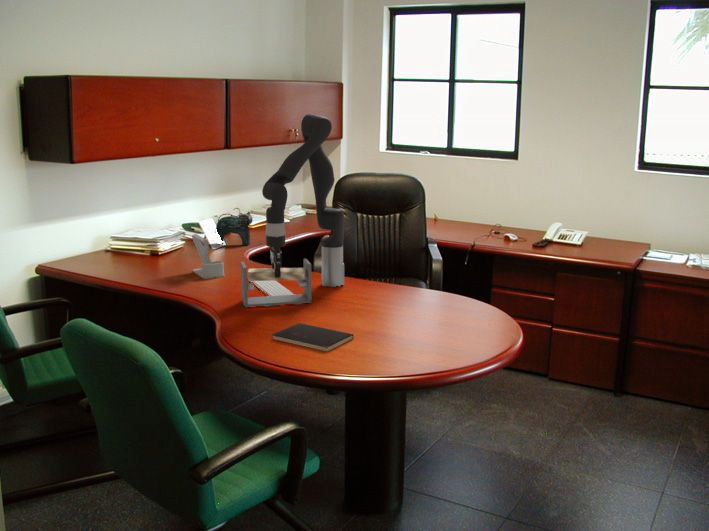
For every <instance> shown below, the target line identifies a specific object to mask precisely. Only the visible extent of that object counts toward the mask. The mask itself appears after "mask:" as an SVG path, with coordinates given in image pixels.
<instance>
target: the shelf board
mask: <svg viewBox="0 0 709 531" xmlns="http://www.w3.org/2000/svg"><path fill="white" fill-rule="evenodd" d="M280 269H281V277H279V278H276V277H275V268H272V267H270V268H267V267H266V268H265V267H264V268H263V267H260V268H259V267H258V268H248V269H247V279H248V280H247V282H248V281H297V280H305V274H304V267H282V268H280Z"/></svg>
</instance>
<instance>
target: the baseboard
mask: <svg viewBox="0 0 709 531" xmlns="http://www.w3.org/2000/svg"><path fill="white" fill-rule="evenodd" d="M247 281H248V278H247ZM251 282H253V283H254V284H255V285H256V286H257V287H258V288H260V289H261V290H262V291H264V292H265V293H267V294H268V295H269V296H281V295H296V294H294V293H293V292H292V291H291V290H289V289H288V288H286V287H285V286H283V284H281V283H279V282H278V280H276V281H251Z"/></svg>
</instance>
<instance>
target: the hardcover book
mask: <svg viewBox="0 0 709 531" xmlns="http://www.w3.org/2000/svg"><path fill="white" fill-rule="evenodd" d="M271 336H272V339H273V340H276V341H280V342H285V343H289V344H294V345H299V346H301V347H306V348H307V347H308V348H312V349H315V350H320V351H324V352H329V351H331V350H333V349H336V348H337V347H339V346H341V345H343V344H345V343H346V342H349V341H351V340H353V339H354V334H353V333H349V332H346V331H345V332H343V331H341V330H340V331H339V330H334V329H330V328H325V327H320V326H316V325H311V324H307V323H301V322H298V323H295V324H293V325H291V326H289V327H286V328H284V329H281V330H279V331H277V332H273V333H272V334H271Z"/></svg>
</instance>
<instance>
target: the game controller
mask: <svg viewBox="0 0 709 531" xmlns="http://www.w3.org/2000/svg"><path fill="white" fill-rule="evenodd" d="M236 209H237V210H239V213H238V215H233V214H231V213H223V214H221V215H219V217H218V219H217V223H216V228H215V230H216V229H217V232H218V234H219V235H220V237H221V240H222V241H225V237H226V235H227V234H230V233H231V234H237V235H239V236H240V239H241V244H242V246H243V247H244V246H246V247H247V246H251V234H250V233H251V232H250V228H249V227H250V225H252V223H253V216H252V215H251V213H250V211H248V212H246V213H243V212H241V209H240V208H238V207H235V208H234V210H236ZM225 215H228V216H225ZM222 216H223V217H222Z"/></svg>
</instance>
